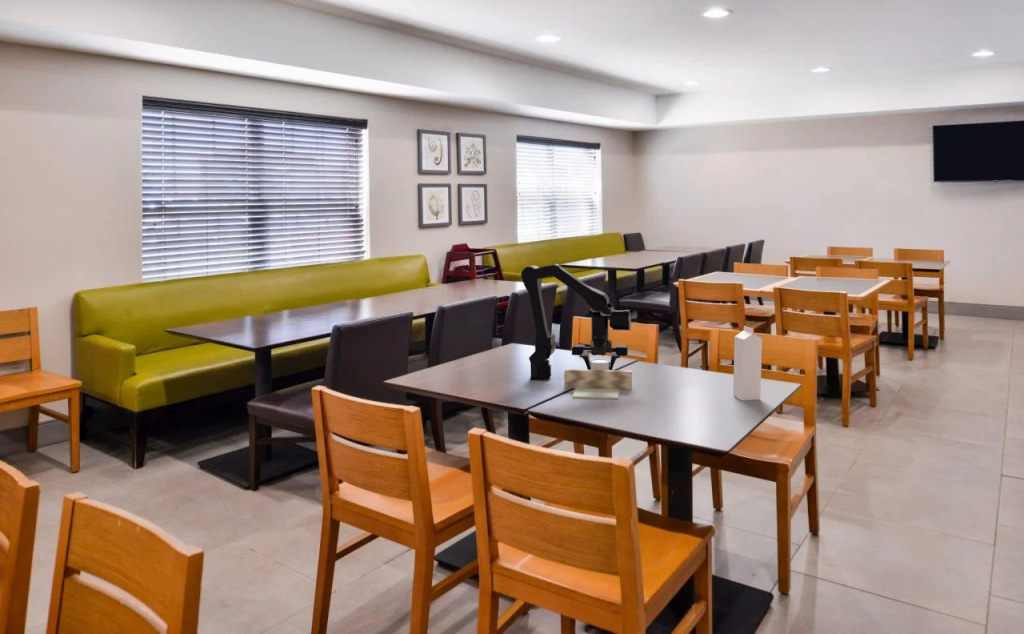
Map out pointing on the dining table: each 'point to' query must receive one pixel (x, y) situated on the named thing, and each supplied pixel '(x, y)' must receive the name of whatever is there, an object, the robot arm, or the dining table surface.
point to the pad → (596, 393)
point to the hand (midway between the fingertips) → (600, 374)
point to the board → (598, 379)
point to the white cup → (600, 364)
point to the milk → (747, 365)
